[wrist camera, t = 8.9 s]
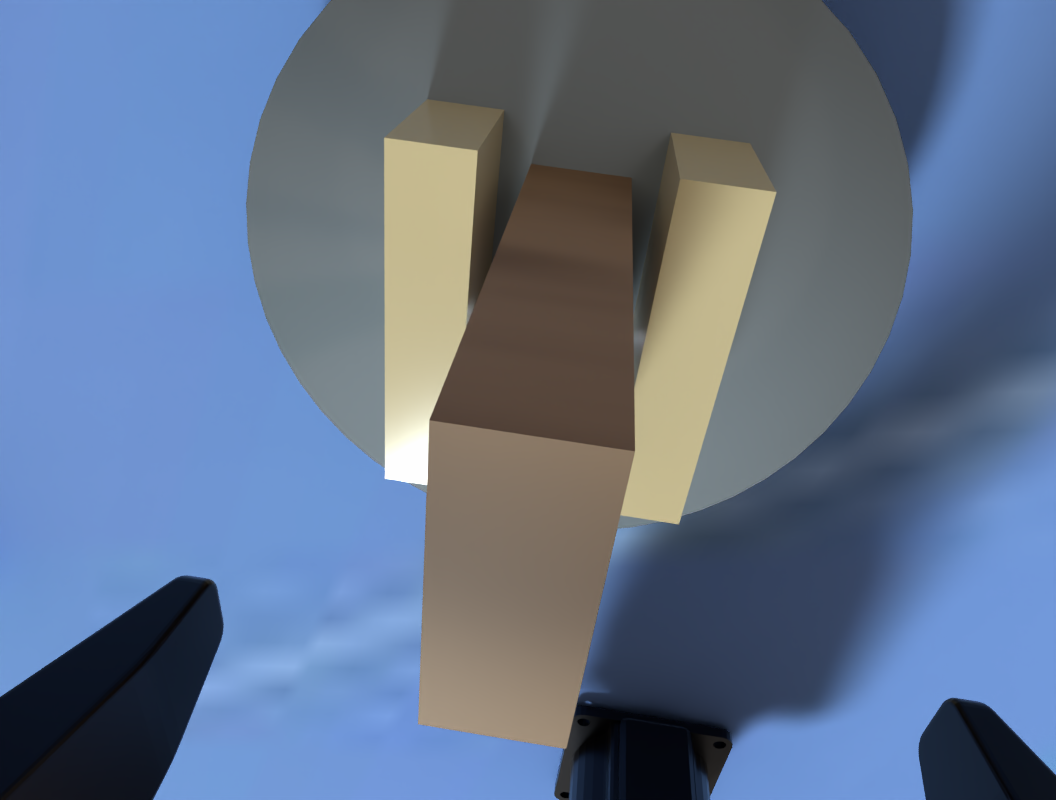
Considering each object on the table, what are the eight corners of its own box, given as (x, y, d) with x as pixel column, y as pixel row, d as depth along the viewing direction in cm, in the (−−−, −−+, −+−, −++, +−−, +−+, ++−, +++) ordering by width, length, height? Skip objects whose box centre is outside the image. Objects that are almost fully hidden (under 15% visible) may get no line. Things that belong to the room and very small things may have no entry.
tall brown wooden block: (592, 390, 17) (566, 749, 10) (508, 377, 17) (418, 724, 10) (631, 177, 15) (634, 451, 7) (531, 163, 15) (429, 419, 7)
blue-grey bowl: (766, 473, 23) (814, 661, 17) (325, 405, 23) (224, 566, 18) (958, -53, 15) (1164, -37, 9) (294, -137, 16) (98, -170, 10)
